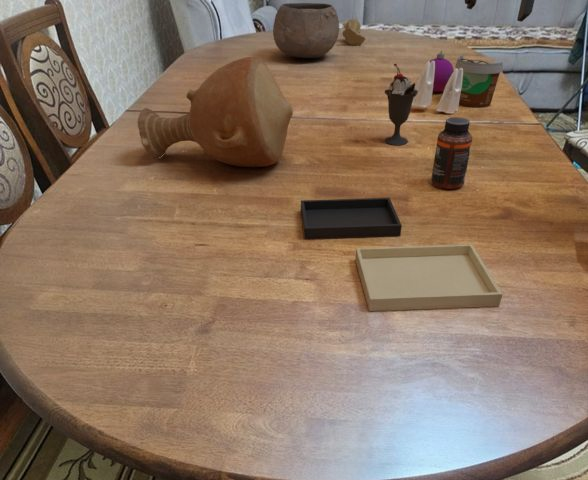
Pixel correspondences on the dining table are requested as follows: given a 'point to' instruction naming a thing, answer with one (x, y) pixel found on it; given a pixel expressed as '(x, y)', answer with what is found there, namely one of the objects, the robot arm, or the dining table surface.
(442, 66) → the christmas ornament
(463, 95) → the food container
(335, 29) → the clay pot
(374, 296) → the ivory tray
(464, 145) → the supplement bottle
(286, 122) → the jug
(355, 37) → the cat figurine
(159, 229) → the dining table surface
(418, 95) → the shaker set
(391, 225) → the charcoal tray
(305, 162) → the dining table surface
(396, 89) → the sundae
